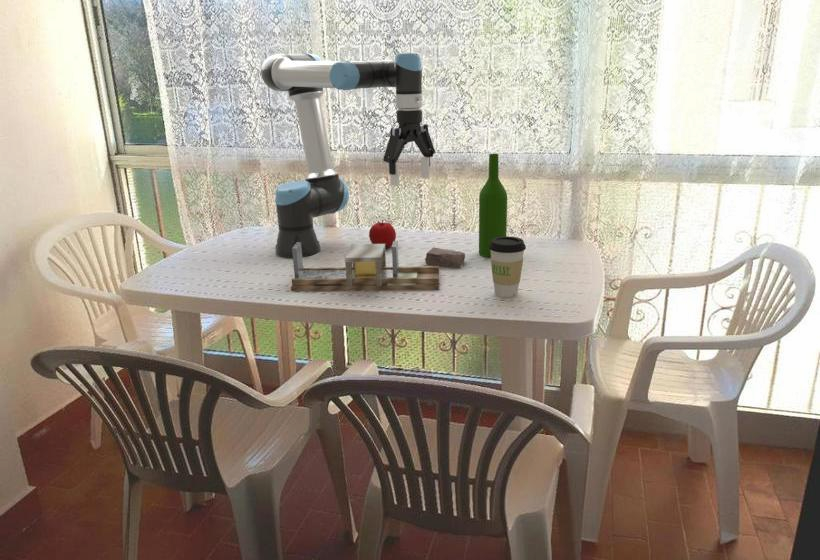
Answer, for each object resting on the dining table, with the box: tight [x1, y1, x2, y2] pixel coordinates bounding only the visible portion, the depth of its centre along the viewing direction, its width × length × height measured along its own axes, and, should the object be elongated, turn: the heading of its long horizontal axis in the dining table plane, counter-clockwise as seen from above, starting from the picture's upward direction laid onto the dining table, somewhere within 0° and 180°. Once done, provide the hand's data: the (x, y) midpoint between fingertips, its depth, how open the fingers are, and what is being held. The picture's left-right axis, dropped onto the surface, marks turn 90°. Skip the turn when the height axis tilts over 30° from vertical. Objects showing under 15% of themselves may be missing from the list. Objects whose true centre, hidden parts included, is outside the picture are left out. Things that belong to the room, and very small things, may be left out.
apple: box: [368, 219, 397, 249], centre depth 217 cm, size 9×9×10 cm
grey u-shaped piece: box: [292, 240, 400, 279], centre depth 182 cm, size 30×8×10 cm, turn 87°
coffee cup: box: [489, 235, 527, 298], centre depth 170 cm, size 10×10×15 cm
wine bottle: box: [478, 153, 508, 259], centre depth 201 cm, size 9×9×32 cm
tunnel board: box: [290, 243, 440, 292], centre depth 183 cm, size 42×14×10 cm, turn 87°
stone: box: [424, 246, 466, 269], centre depth 198 cm, size 9×12×5 cm
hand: (410, 181), depth 190 cm, fingers open, 13 cm apart
